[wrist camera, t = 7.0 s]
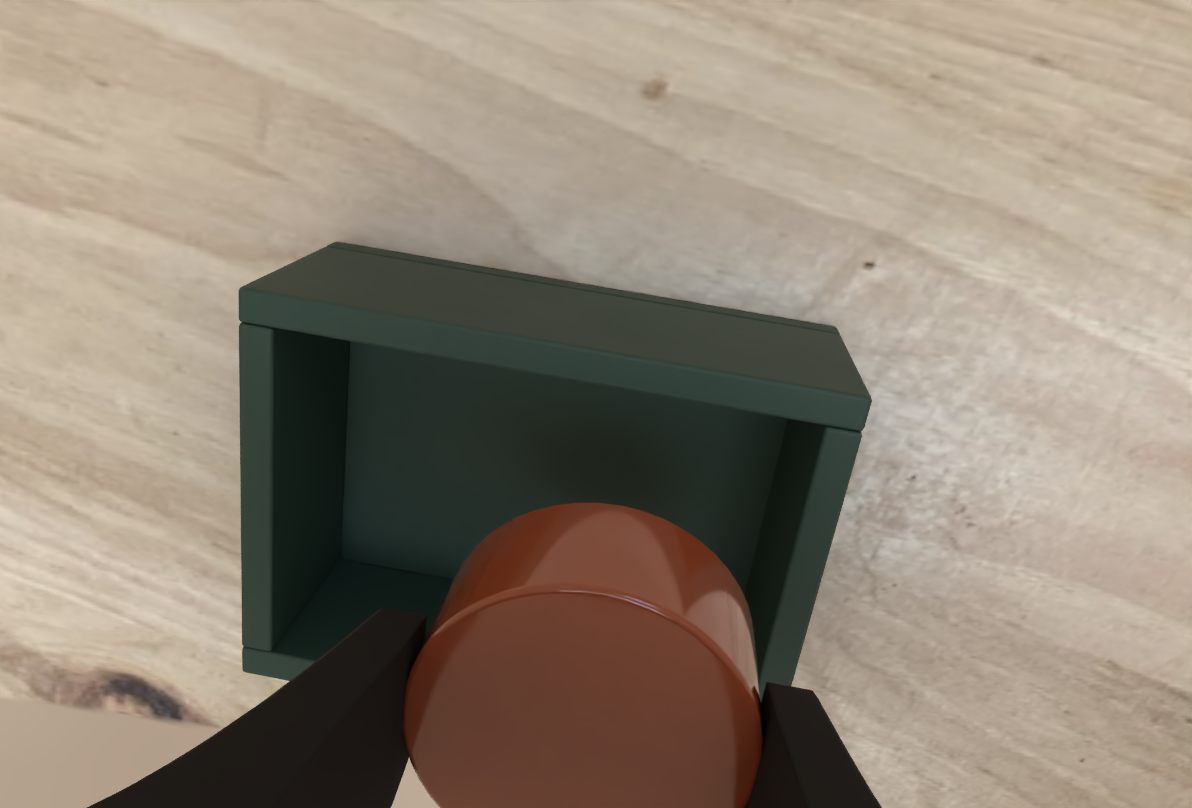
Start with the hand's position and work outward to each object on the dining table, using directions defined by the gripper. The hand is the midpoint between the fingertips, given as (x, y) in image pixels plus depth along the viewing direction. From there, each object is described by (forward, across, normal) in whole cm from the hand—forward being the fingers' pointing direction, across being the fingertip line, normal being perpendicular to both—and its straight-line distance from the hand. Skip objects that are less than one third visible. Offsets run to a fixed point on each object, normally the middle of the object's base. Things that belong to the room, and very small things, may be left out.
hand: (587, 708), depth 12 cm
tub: (+8, +2, 0) cm, 8 cm away
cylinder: (+1, 0, 0) cm, 1 cm away
